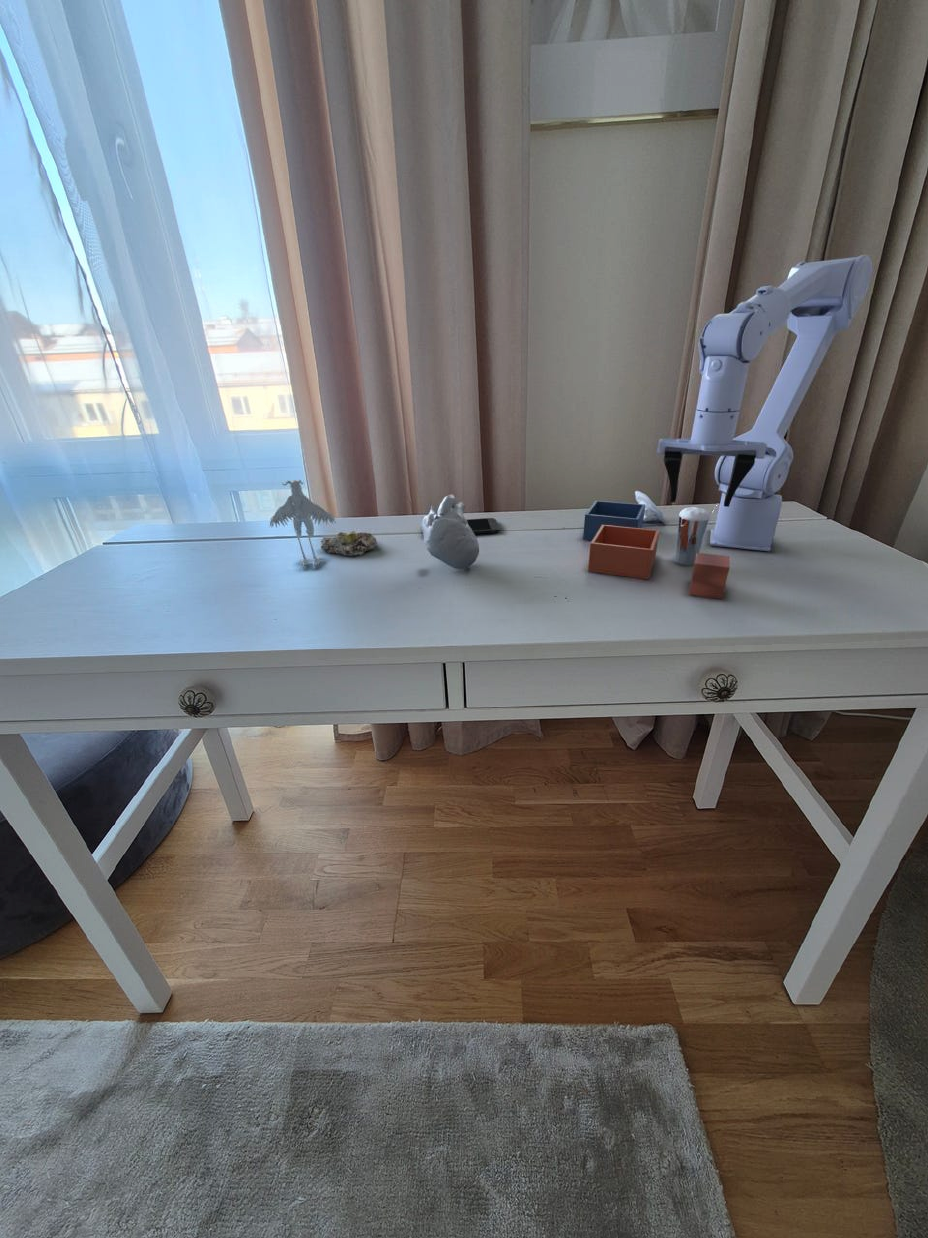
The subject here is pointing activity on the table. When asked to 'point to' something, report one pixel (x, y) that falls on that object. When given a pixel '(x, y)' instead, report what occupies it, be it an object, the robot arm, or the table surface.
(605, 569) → the terracotta bin
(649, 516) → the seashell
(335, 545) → the mineral rock
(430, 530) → the heart
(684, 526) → the milkshake
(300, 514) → the figurine
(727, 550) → the table surface
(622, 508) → the slate bin
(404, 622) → the table surface
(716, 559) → the block
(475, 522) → the smartphone
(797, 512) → the table surface
